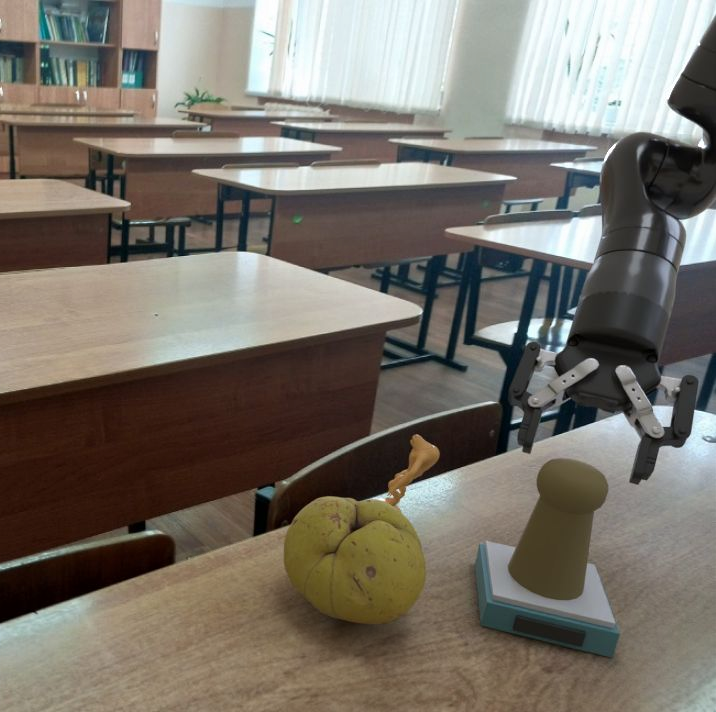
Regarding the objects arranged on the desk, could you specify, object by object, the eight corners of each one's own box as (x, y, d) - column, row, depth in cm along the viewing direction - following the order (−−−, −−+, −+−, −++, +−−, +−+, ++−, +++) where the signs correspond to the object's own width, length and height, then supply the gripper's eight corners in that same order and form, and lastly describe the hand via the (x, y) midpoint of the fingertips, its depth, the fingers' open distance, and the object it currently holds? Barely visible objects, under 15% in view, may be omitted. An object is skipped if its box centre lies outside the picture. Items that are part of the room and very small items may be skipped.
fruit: (348, 553, 71) (364, 462, 67) (445, 631, 61) (469, 530, 58) (255, 585, 65) (266, 488, 62) (345, 676, 56) (364, 568, 52)
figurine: (375, 511, 78) (394, 409, 74) (431, 532, 75) (454, 427, 70) (344, 546, 72) (362, 437, 67) (404, 572, 68) (428, 459, 64)
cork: (523, 547, 68) (551, 442, 64) (593, 579, 64) (628, 469, 60) (496, 574, 64) (525, 463, 60) (569, 610, 60) (606, 494, 56)
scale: (589, 590, 67) (598, 562, 66) (613, 661, 59) (623, 630, 58) (474, 564, 70) (481, 537, 69) (481, 628, 62) (488, 598, 61)
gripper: (543, 275, 69) (494, 425, 64) (725, 306, 62) (685, 477, 57) (537, 315, 75) (492, 455, 71) (702, 347, 68) (665, 505, 64)
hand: (579, 465), depth 64 cm, fingers open, 8 cm apart
